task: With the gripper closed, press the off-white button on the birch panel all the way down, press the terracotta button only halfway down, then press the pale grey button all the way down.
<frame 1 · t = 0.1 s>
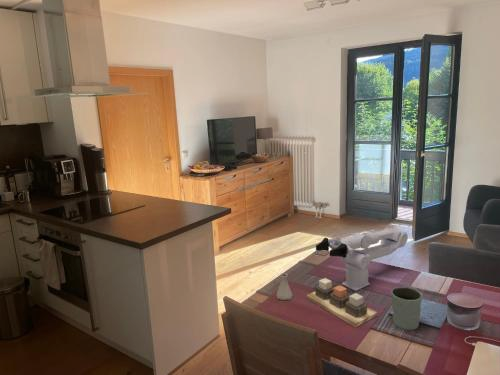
hand: (323, 250, 147), 22 cm above the table, tool horizontal, fingers open, 7 cm apart
grey button: (356, 300, 138), point 7 cm above the table, slide at 0.0 cm
green cylindrical pot: (404, 323, 134), on the table
button panel: (339, 306, 146), on the table
offwhite button: (325, 284, 151), point 7 cm above the table, slide at 0.0 cm
terracotta button: (340, 291, 145), point 7 cm above the table, slide at 0.0 cm
flask: (284, 296, 156), on the table
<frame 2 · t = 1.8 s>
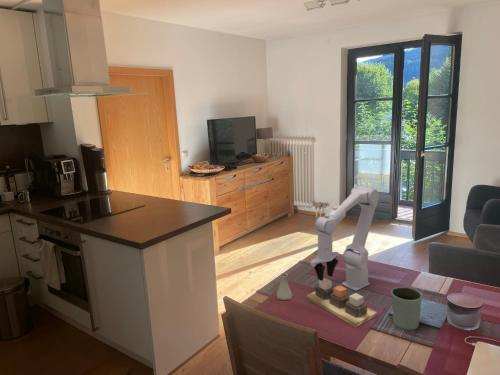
hand: (325, 277, 151), 9 cm above the table, tool pointing down, fingers open, 5 cm apart
nothing on the table moved.
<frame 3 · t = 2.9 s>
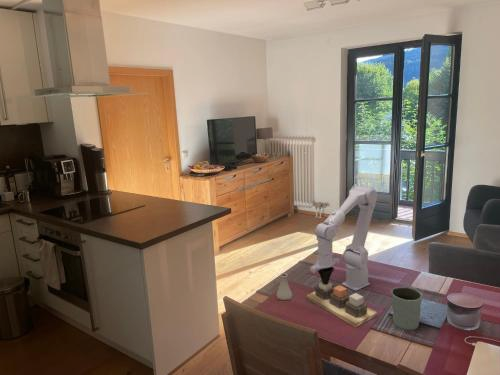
hand: (325, 283, 151), 7 cm above the table, tool pointing down, fingers closed, pressing on offwhite button
offwhite button: (325, 286, 152), point 5 cm above the table, slide at 1.2 cm, touching gripper
everything else where it was.
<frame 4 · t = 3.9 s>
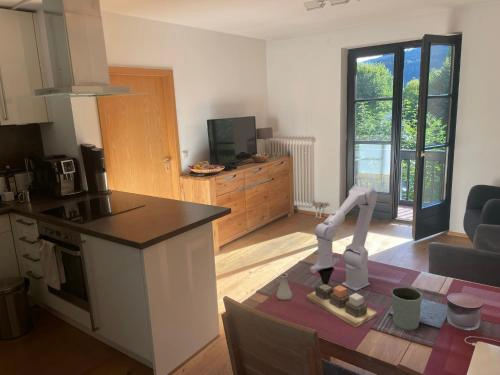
hand: (325, 283, 151), 7 cm above the table, tool pointing down, fingers closed
offwhite button: (325, 290, 152), point 4 cm above the table, slide at 2.7 cm
everything else where it was.
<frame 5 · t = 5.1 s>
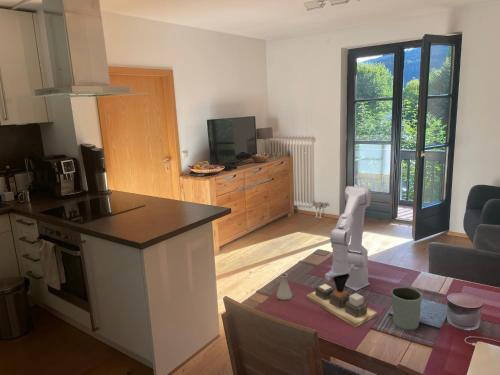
hand: (340, 290, 145), 7 cm above the table, tool pointing down, fingers closed, pressing on terracotta button
terracotta button: (340, 294, 145), point 5 cm above the table, slide at 1.1 cm, touching gripper
everything else where it was.
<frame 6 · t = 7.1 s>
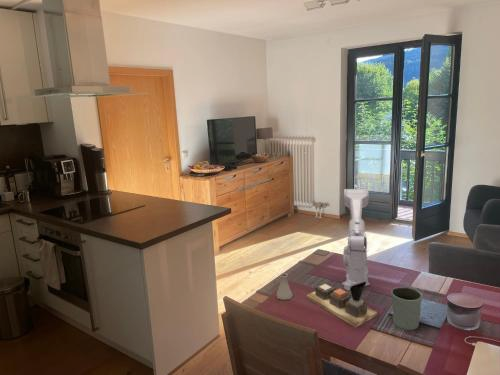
hand: (356, 299, 138), 7 cm above the table, tool pointing down, fingers closed, pressing on grey button
grey button: (356, 303, 139), point 5 cm above the table, slide at 1.4 cm, touching gripper
terracotta button: (340, 295, 145), point 5 cm above the table, slide at 1.4 cm
everything else where it was.
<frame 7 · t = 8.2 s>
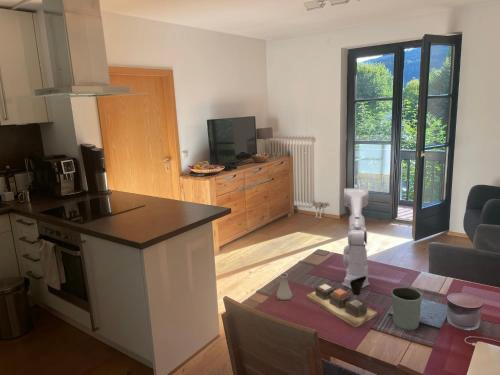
hand: (356, 294, 138), 9 cm above the table, tool pointing down, fingers closed
grey button: (356, 306, 139), point 4 cm above the table, slide at 2.7 cm
everything else where it was.
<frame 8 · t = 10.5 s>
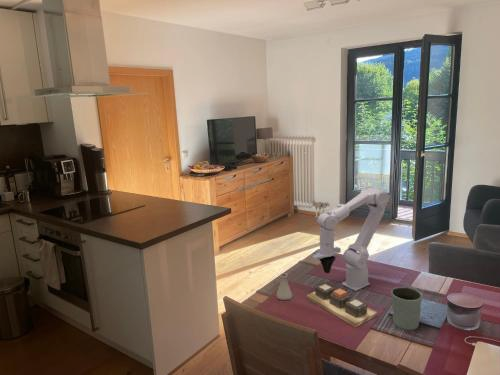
hand: (326, 272, 155), 9 cm above the table, tool pointing down, fingers closed
nothing on the table moved.
at the end: offwhite button slide at 2.7 cm; terracotta button slide at 1.4 cm; grey button slide at 2.7 cm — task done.
